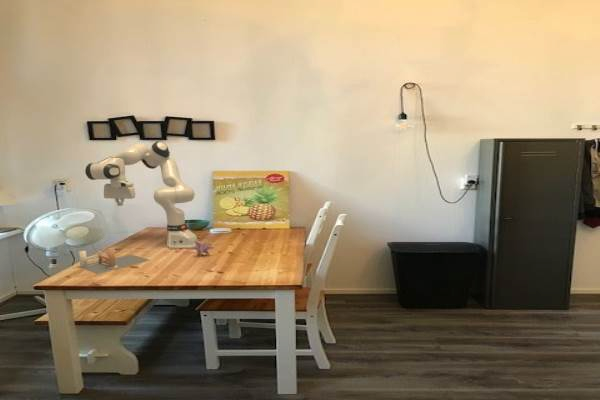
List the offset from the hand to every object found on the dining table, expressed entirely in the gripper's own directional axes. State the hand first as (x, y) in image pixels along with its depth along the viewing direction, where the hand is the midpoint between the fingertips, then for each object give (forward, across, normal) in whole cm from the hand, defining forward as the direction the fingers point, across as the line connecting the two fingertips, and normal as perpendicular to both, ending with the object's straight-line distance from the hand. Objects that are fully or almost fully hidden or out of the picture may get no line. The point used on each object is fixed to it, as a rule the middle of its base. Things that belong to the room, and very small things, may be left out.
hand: (120, 205), depth 236 cm
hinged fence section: (+28, +13, -30) cm, 43 cm away
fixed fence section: (+29, +3, -30) cm, 42 cm away
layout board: (+29, +14, -26) cm, 41 cm away
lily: (+29, +56, -2) cm, 63 cm away
